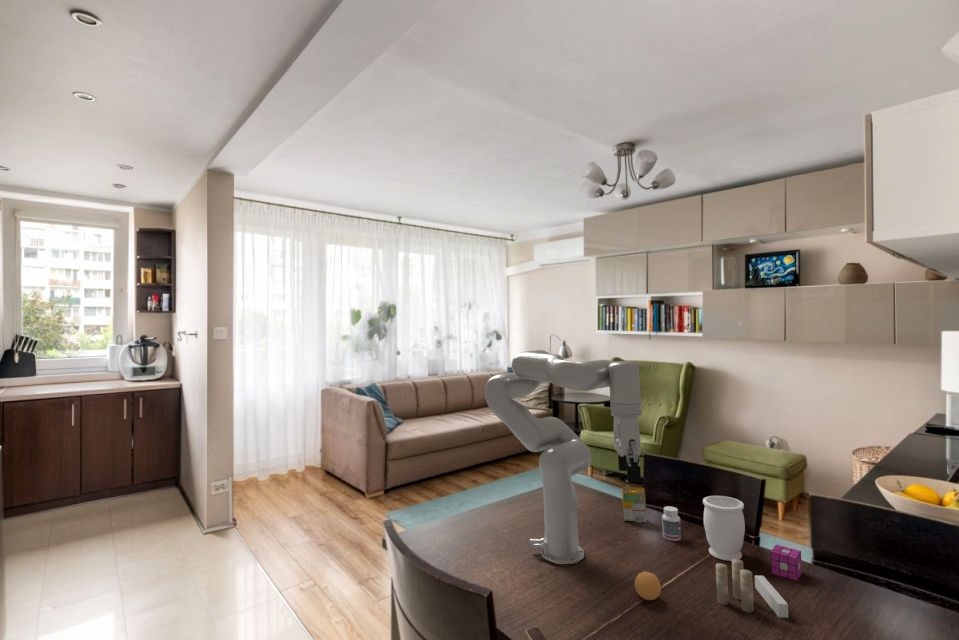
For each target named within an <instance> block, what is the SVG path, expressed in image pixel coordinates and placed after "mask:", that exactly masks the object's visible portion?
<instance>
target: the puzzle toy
mask: <svg viewBox="0 0 959 640" xmlns="http://www.w3.org/2000/svg"><path fill="white" fill-rule="evenodd" d="M770 563H771V565H770V566H771V570H770V571H771V574H773V575H774V576H775V575H776V576H779V577H782V576H783V577H782V578H785V577H787V578H786V579H789V578H790V579H789V580H792V579H793V581H795V580H796V582H798V581H797V580H799V578H800V577H801V575H802V573H803V569H802V568H803V567H802V550H799V549H795V548H792V547H787V546H783V545H780V544H775V545H774V547H773V548H772V549H771V551H770Z"/></svg>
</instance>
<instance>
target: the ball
mask: <svg viewBox="0 0 959 640" xmlns="http://www.w3.org/2000/svg"><path fill="white" fill-rule="evenodd" d="M634 588H635V591H636V593H637V594H638V595H639V596H640V598H642V599H643V600H646V601H654V600H656V599H658V598H659V596H660V594H661V591H662V585H661V582H660V579H659V578H658V577H657V575H655V574H654V573H652V572H649V571H642V572H640V573H638V574H637V575H636V577H635V579H634Z"/></svg>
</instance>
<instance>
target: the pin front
mask: <svg viewBox="0 0 959 640" xmlns="http://www.w3.org/2000/svg"><path fill="white" fill-rule="evenodd" d="M715 578H716V579H715V581H716V582H715V583H716V599H717V600H716V601H717V603H718V604H720V605H723V606H727V605H729V581H728V566H727V564H725V563H720V562H718V563H716V564H715Z"/></svg>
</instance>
